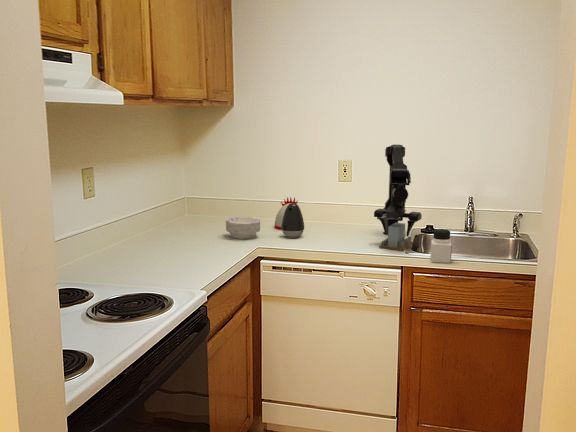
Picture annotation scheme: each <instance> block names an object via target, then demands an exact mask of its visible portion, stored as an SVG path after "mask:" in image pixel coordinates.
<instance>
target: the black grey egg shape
mask: <svg viewBox="0 0 576 432" xmlns="http://www.w3.org/2000/svg"><path fill="white" fill-rule="evenodd" d="M281 229H282V230H281V231H282V233H283V235H284V236H285V237H286V238H288V237H289V238H290V239H296V238H297V239H298V238H299V237H301V236H302V235H303V233H304V231H305V221H304V218H303V214H302V210H301V208H300V206H299V205H298V203H297V204H295V203H291V204H289V205H288V206H287V208H286V210H285V212H284V216H283V219H282V226H281ZM289 238H288V239H289Z"/></svg>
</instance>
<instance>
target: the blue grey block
mask: <svg viewBox="0 0 576 432" xmlns="http://www.w3.org/2000/svg"><path fill="white" fill-rule="evenodd" d="M387 238H388V246H395V247H398V243H400V242H401V241H403V240H404V239H406V223H405V222H398V223H394V224H393V225H391V226H389V228H388V234H387Z"/></svg>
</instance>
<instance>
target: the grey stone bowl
mask: <svg viewBox="0 0 576 432" xmlns="http://www.w3.org/2000/svg"><path fill="white" fill-rule="evenodd" d="M225 231H226V232H228V233H230V236H231V237H232V238H234V239H239V240H248V239H252V238H254V237H255V236H256V235H257V233H259V232H261V219H259V218H258V217H252V216H251V217H250V216H232V217H229V218H227V219H226V220H225Z"/></svg>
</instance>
